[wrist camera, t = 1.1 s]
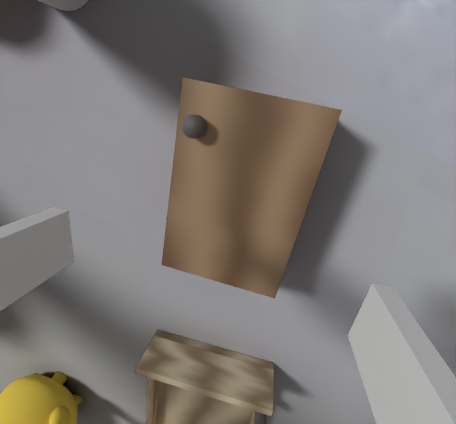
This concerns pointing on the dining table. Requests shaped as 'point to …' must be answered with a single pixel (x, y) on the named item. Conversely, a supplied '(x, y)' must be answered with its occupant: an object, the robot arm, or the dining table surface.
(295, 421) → the dining table surface
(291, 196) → the door
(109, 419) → the dining table surface
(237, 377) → the box
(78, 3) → the coffee cup
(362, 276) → the dining table surface
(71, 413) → the teapot
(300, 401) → the dining table surface
